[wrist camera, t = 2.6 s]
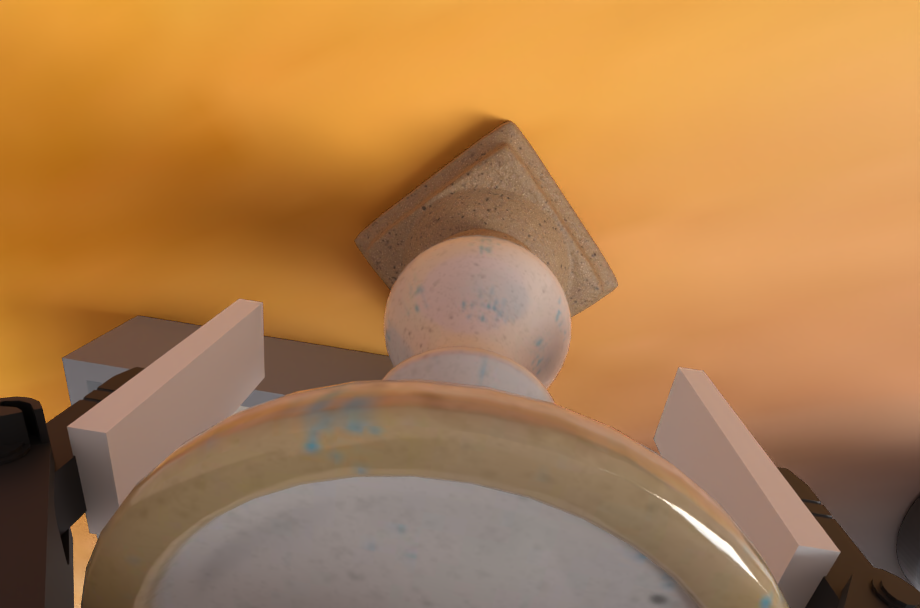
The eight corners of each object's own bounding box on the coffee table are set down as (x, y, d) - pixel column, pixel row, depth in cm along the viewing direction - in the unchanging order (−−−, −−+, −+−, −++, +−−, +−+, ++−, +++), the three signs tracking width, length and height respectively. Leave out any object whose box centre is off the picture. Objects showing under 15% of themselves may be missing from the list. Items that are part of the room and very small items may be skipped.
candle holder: (358, 232, 29) (-108, 618, 7) (511, 115, 26) (539, 149, 4) (466, 367, 32) (376, 953, 10) (616, 276, 29) (984, 832, 7)
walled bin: (410, 359, 32) (390, 412, 26) (388, 562, 39) (368, 637, 33) (137, 315, 33) (62, 357, 27) (163, 523, 39) (107, 590, 34)
